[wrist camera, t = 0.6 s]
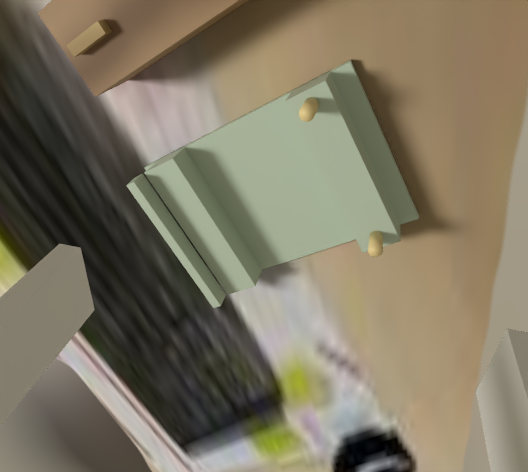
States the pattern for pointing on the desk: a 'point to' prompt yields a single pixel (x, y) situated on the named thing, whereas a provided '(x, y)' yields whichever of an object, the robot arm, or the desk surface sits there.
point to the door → (126, 33)
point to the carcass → (279, 186)
